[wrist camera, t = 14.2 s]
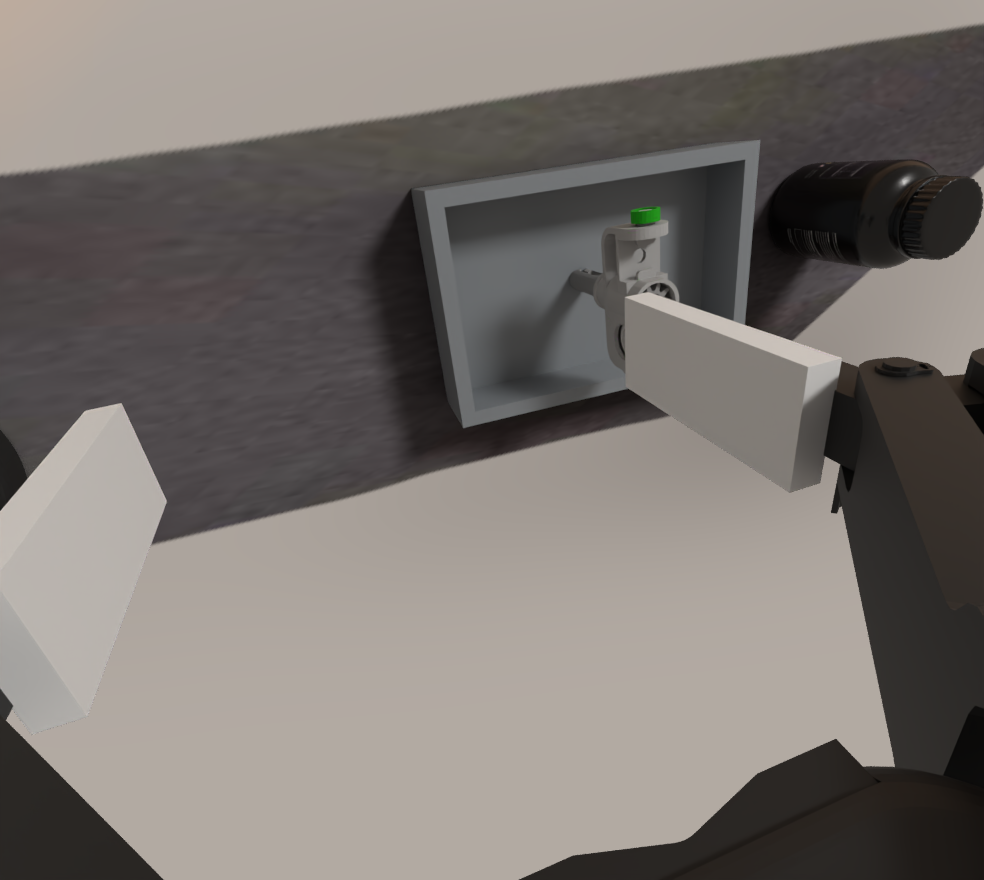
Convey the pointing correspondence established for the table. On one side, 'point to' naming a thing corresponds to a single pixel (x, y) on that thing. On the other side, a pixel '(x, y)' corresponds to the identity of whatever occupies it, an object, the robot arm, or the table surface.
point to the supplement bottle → (874, 212)
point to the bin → (571, 267)
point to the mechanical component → (627, 273)
